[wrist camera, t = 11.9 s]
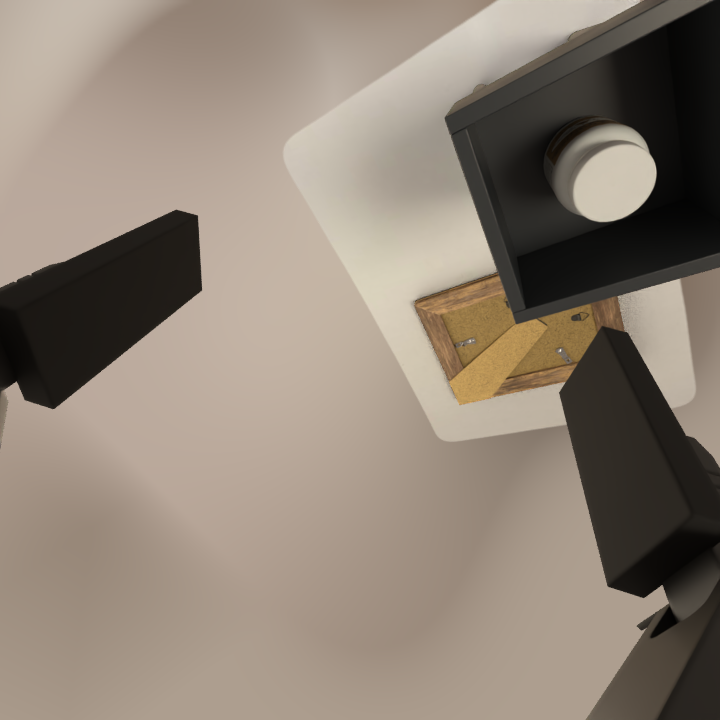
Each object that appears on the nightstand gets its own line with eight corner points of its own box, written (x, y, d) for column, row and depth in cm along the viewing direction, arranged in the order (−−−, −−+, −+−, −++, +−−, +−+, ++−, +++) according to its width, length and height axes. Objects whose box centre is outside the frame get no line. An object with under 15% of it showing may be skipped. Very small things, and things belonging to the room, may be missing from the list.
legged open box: (465, 87, 43) (444, 117, 19) (587, 19, 38) (771, -58, 14) (498, 193, 48) (515, 325, 24) (611, 145, 43) (776, 251, 19)
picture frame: (460, 397, 67) (628, 361, 56) (459, 405, 65) (632, 368, 55) (415, 300, 59) (602, 236, 48) (413, 305, 57) (606, 241, 47)
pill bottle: (614, 98, 23) (661, 110, 17) (629, 173, 25) (677, 208, 19) (533, 138, 25) (549, 162, 19) (553, 205, 27) (574, 246, 21)
